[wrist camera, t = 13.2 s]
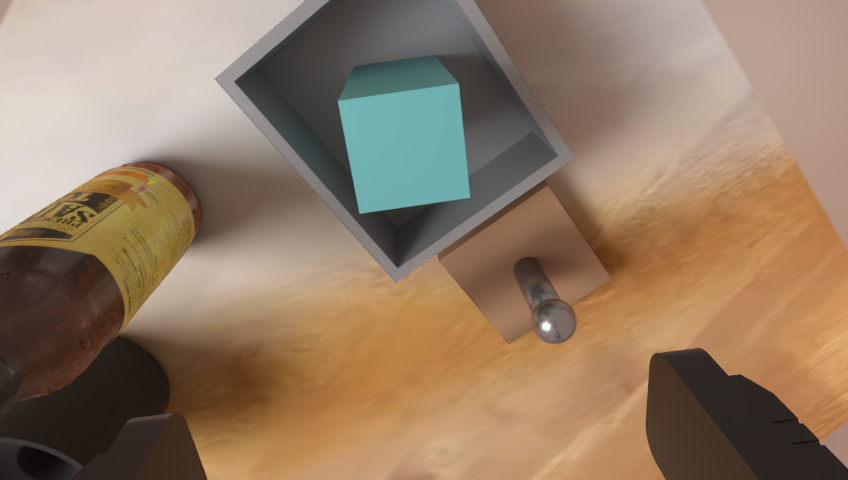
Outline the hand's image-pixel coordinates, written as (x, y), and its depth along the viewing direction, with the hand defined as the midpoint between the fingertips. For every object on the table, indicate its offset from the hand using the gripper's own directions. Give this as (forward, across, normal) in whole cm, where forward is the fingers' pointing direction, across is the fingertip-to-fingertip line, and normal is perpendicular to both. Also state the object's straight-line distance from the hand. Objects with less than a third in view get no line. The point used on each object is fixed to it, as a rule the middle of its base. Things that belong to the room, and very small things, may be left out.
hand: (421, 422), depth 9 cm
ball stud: (+23, -7, +10) cm, 26 cm away
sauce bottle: (+24, +16, +3) cm, 29 cm away
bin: (+24, 0, -2) cm, 24 cm away
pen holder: (+25, +22, +15) cm, 37 cm away
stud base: (+24, -7, +10) cm, 27 cm away
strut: (+24, 0, -2) cm, 24 cm away
